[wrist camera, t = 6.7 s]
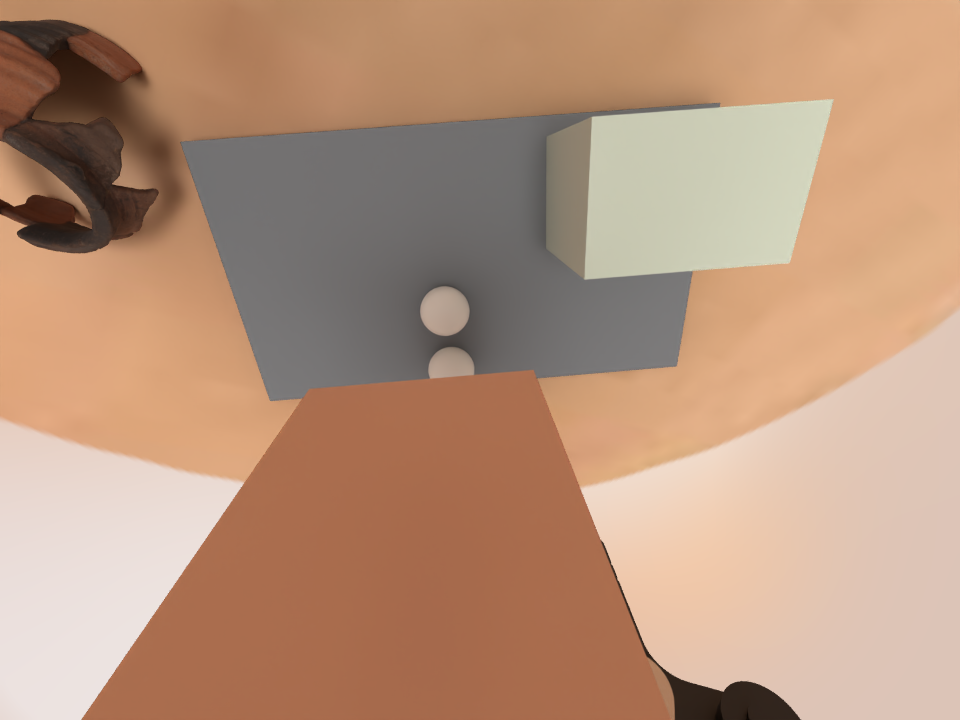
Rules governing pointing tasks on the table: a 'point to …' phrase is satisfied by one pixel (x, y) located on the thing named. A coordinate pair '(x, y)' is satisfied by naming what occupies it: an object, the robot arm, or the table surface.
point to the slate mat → (417, 255)
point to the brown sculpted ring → (65, 139)
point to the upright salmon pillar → (398, 575)
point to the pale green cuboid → (681, 188)
